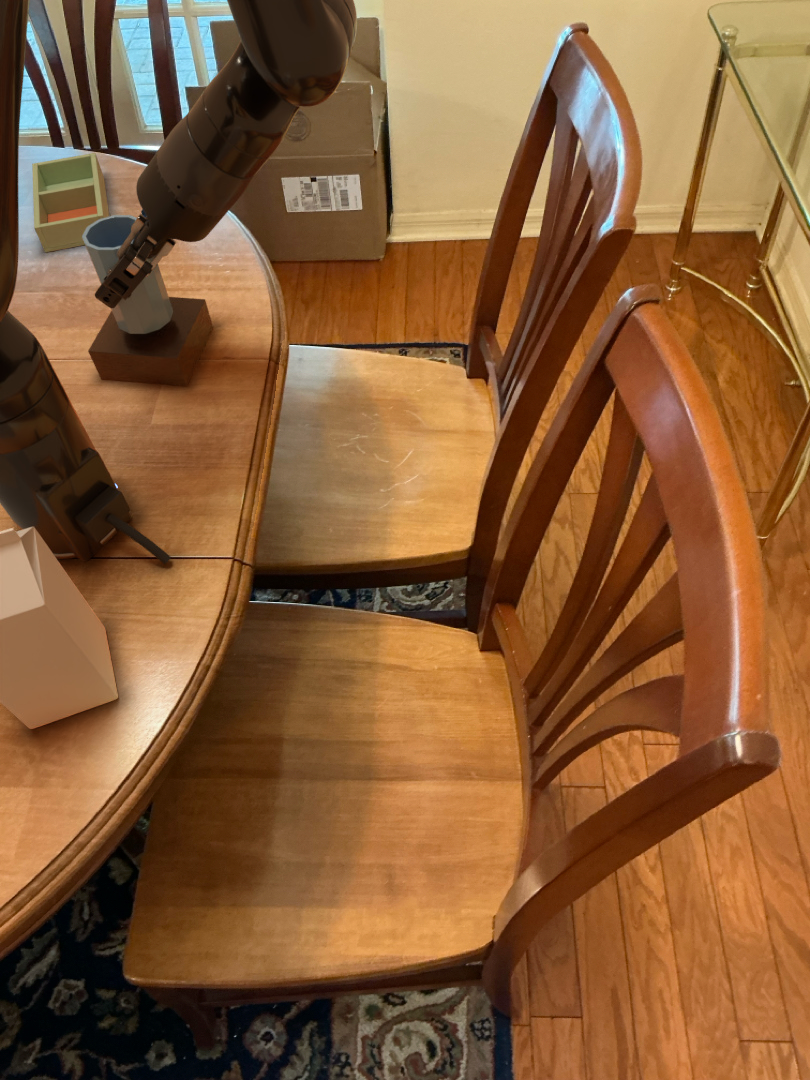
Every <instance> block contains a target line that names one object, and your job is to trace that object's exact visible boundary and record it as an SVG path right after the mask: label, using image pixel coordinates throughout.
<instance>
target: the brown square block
mask: <svg viewBox="0 0 810 1080" xmlns="http://www.w3.org/2000/svg"><path fill="white" fill-rule="evenodd" d="M169 299H170V303H171V306H172V309H173V314H172V317H171V320H170V321H169V322H168V323H167V324H166V325H164V326H163V327H162V328H161V329H159V330H156V331H153V332H149V333H146V334H130V333H127V332H125V331H123V330H121V329H119V327H118V325H117V322H116V320H115V318H114V315H113V313H112V310H111V311H110V312H109V314H108V315H107V318H106V320H105V321H104V323H103V325H102V327H101V328H100V330H99V331H98V333H97V334H96V337H95V338H94V340H93V342H92V344H91V345H90V347H89V348H88V351H87V352H88V355H89V356H90V358H91V361H92V363H93V365H94V367H95V369H96V372H97V373H98V376H99V378H100V379H101V380H107V381H108V380H110V381H120V382H132V383H144V384H153V385H154V384H155V385H166V386H177V387H179V386H180V387H188V385H189V383H190V380H191V377H192V376H193V373H194V371H195V369H196V366H197V364H198V362H199V360H200V358H201V356H202V354H203V351H204V350H205V347H206V345H207V343H208V340H209V338H210V336H211V334H212V331H213V330H214V325H213V322H212V318H211V315H210V311H209V308H208V303H207V300H206V299H205V298H193V297H192V298H190V297H181V296H180V297H179V296H177V297H176V296H169Z"/></svg>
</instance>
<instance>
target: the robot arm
mask: <svg viewBox="0 0 810 1080" xmlns="http://www.w3.org/2000/svg"><path fill="white" fill-rule="evenodd" d="M226 1H227V4H228V8H229V10H230V13H231V16H232V19H233V22H234V24H235V27H236V31H237V33H238V36H239V38H240V41H239V42H238V44H237V47H236V48H235V50H234V51H233V53H232V55H231V56H230V58H229V60H228V61H227V62H226V63H225V65H224V66H223V67H222V68H221V69H220V70H219V72H218V73H217V74H216V75H215V76H214V77H213V78H212V79H211V81H210V82H209V83H208V84H207V86H206V87H205V89H204V90H202V93H201V94H200V95H199V97H198V98H197V100H196V102H195V103H194V104H193V106H192V107H191V109H190V110H189V111H188V112H187V114H185V116H184V117H183V118H182V119H181V120H179V122H178V123H177V124H176V125H175V126H174V127H173V128H172V129H171V130H170V132H169V134H168V135H167V137H166V138H165V139H164V140H163V142H162V143H161V145H160V147H159V148H158V149H157V151H156V152H155V154H154V156H153V157H152V158H151V159H150V161H149V162H148V163H147V165H146V166H145V168H144V169H143V170H142V172H141V174H140V175H139V177H138V178H137V181H136V186H135V187H136V191H135V192H136V197H137V200H138V203H139V205H140V207H141V210H140V214H139V215H137V217H136V218H137V219H136V220H135V222H134V223H133V225H132V227H131V233H130V234H129V235H128V237H127V238H126V240H125V241H124V242H123V244H122V245H121V247H120V248H119V250H118V252H117V256H118V258H119V260H118V261H117V262H116V264H115V265H114V267H113V268H112V269H111V268H110V269H109V271H108V273H109V274H108V275H107V276H105V278H104V279H103V280H104V282H103V283H102V284H101V283H100V286H99V287H98V288H97V290H95V293H94V297H95V298H96V300H98V301H99V302H100V303H102V304H104V305H105V306H106V307H108V308H109V309H111V308H115V307H116V305H117V304H118V303H119V302H120V300H121V299H122V298H123V299H124V300H126V299H127V298H130V296H131V295H132V294H131V293H132V292H133V291H134V290H135V289H136V287H137V286H138V285H139V284H140V283H141V281H142V280H143V279H144V278H145V277H147V276H149V275H150V273H151V272H152V271H153V269H154V268H155V267H156V265H157V264H158V265H159V263H160V262H161V260H162V259H163V257H167V256H168V255H169V254H170V253H171V251H172V250H173V248H174V247H175V246H176V244H177V241H182V242H185V243H196V242H197V243H198V242H201V241H203V240H204V239H206V237H208V235H209V234H210V233H211V232H212V231H213V230H214V229H215V227H216V226H217V225H218V224H219V223H220V222H221V220H222V219H223V218H224V217H225V216H226V215H227V213H228V212H229V211H230V210H231V208H233V206H234V205H235V204H236V203H237V202H238V200H239V199H240V198H241V197H242V195H244V194H245V192H246V190H247V188H248V187H249V185H250V183H251V182H252V180H253V178H254V177H255V176H256V175H257V173H258V172H259V171H260V170H261V169H262V167H263V166H264V165H265V164H266V163H267V161H268V160H270V158H271V157H272V156H273V154H274V153H275V152H276V151H277V150H278V148H279V147H280V145H281V144H282V143H283V141H284V139H285V138H286V136H287V134H288V132H289V129H290V127H291V125H292V122H293V120H294V118H295V116H296V115H297V113H298V112H299V110H300V109H301V108H310V107H311V108H312V107H315V106H319V105H321V104H323V103H324V102H326V101H327V100H329V99H330V98H331V97H332V96H333V95H334V94H335V92H336V91H337V89H338V88H339V86H340V84H341V82H342V80H343V78H344V76H345V72H346V69H347V67H348V63H349V61H350V57H351V54H352V51H353V48H354V45H355V40H356V36H357V30H358V16H357V15H358V14H357V8H356V3H355V1H354V0H226ZM30 2H31V0H0V505H1V507H2V508H3V509H4V511H5V513H6V514H7V515H8V516H9V517H10V519H11V520H12V522H13V523H14V525H16V527H17V528H18V529H19V531H20V530H23V529H27V528H30V527H34V528H35V529H36V530H37V532H38V533H39V535H40V536H41V537H42V539H43V540H44V542H45V543H46V545H47V546H48V547H49V549H50V550H51V552H52V553H53V554H54V556H55V557H56V559H57V560H71V559H79V560H80V561H82V562H88V561H89V560H90V559H91V558H93V556H95V554H96V553H98V552H99V550H101V549H102V548H103V547H104V546H105V545H106V544H108V542H110V540H112V539H113V537H115V535H116V534H117V533H118V532H119V531H120V532H121V533H123V534H124V535H126V536H127V537H128V538H130V539H132V540H133V541H134V542H136V543H137V544H139V546H141V547H143V548H144V549H145V550H147V552H149V553H150V554H151V555H153V557H155V558H156V559H157V560H159V561H160V562H161V563H162V564H164V565H166V564H167V563H168V562H169V561H170V560H171V559H172V556H171V555H169V554H168V553H167V552H166V551H164V549H162V548H161V547H160V546H159V545H157V544H156V543H155V542H153V540H151V539H150V538H148V537H147V536H146V535H145V534H143V533H142V532H140V531H139V530H137V529H136V528H135V527H133V526H132V525H130V524H129V522H130V521H131V520H132V519H133V516H132V513H131V511H132V510H131V508H130V506H129V504H128V502H127V500H126V498H125V496H124V494H123V493H122V491H120V490H119V488H118V485H117V484H116V483H115V481H114V479H113V476H111V474H110V472H109V469H108V467H107V466H106V464H105V462H104V460H103V458H102V457H101V455H100V453H99V452H98V451H97V449H96V447H95V446H94V443H93V441H92V439H91V438H90V435H89V434H88V432H87V430H86V428H85V426H84V424H83V422H82V420H81V419H80V417H79V415H78V413H77V411H76V409H75V406H74V405H73V403H72V402H71V400H70V397H69V396H68V394H67V392H66V389H65V388H64V386H63V384H62V382H61V380H60V378H59V376H58V374H57V372H56V371H55V368H54V367H53V365H52V363H51V361H50V359H49V357H48V354H47V353H46V351H45V349H44V348H43V346H42V344H41V342H40V341H39V340H38V338H37V337H36V335H35V334H34V333H33V332H32V331H30V329H29V328H27V326H26V325H24V324H23V323H22V322H21V321H20V320H19V319H17V318H16V316H14V315H13V314H12V313H11V311H9V308H10V306H11V303H12V300H13V297H14V294H15V290H16V284H17V278H18V270H19V254H20V253H19V250H20V248H19V244H20V240H19V239H20V238H19V237H20V235H19V234H20V232H19V231H20V230H19V229H20V226H19V225H20V223H19V221H20V220H19V217H20V216H19V214H20V212H19V207H20V205H19V159H20V157H19V156H20V155H19V154H20V153H19V151H20V149H19V148H20V122H21V110H22V109H21V108H22V98H23V97H22V95H23V86H24V75H25V64H26V63H25V62H26V49H27V35H28V33H27V32H28V23H29V14H30V13H29V12H30ZM134 238H135V239H134ZM133 239H134V240H133ZM132 241H133V242H132ZM131 242H132V247H133V249H134V250H135V251H136V252H137V253H136V252H135V251H133V250H132V249H131V248H129V249H128V246H129V245H130V244H131ZM154 256H155V257H154ZM153 257H154V258H153ZM151 258H153V259H152V261H151V262H150V263H149V262H148V261H146V259H151Z"/></svg>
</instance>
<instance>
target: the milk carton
mask: <svg viewBox="0 0 810 1080" xmlns="http://www.w3.org/2000/svg"><path fill="white" fill-rule="evenodd" d="M118 698H119V693H118V689H117V683H116V678H115V672H114V667H113V662H112V657H111V652H110V646H109V641H108V636H107V631H106V628H105V626H104V624H103V622H102V621H101V620H100V618H99V617H98V615H97V614H96V613H95V612H94V610H93V608H92V607H91V606H90V604H89V603H88V602H87V600H86V599H85V597H84V596H83V594H82V593H81V592H80V590H79V588H78V587H77V586H76V585H75V583H74V581H73V580H72V578H71V577H70V575H69V574H68V573H67V571H66V570H65V569H64V567H63V566H62V564H61V563H60V562H59V559H56V557H55V556H54V554H53V553H52V552H51V550H50V549H49V547H48V546H47V545H46V543H45V542H44V540H43V539H42V537H41V536H40V535H39V533H38V532H37V530H36V529H35V528H34V527H30V528H27V529H23V530H20V529H19V530H17V531H16V529H15V528H13V527H10V528H6V529H3V530H0V704H1V705H2V706H3V707H5V708H6V709H7V711H9V712H10V713H11V714H12V715H14V716H15V717H16V718H17V719H18V720H19V721H20V722H21V723H22V724H23V725H25V727H26V728H28V729H30V730H33V729H36V728H39V727H40V728H41V727H42V726H45V725H48V724H51V723H53V722H56V721H59V720H62V719H65V718H68V717H71V716H73V715H76V714H80V713H82V712H85V711H88V710H90V709H93V708H97V707H99V706H101V705H105V704H107V703H111V702H113V701H115V700H117V699H118Z"/></svg>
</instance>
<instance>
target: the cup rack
mask: <svg viewBox="0 0 810 1080" xmlns="http://www.w3.org/2000/svg"><path fill="white" fill-rule="evenodd" d="M31 165H32V166H31V167H32V168H31V169H32V197H33V198H32V199H33V200H32V201H33V228H34V231H35V233H36V235H37V238H38V239H39V242H40V244H41V246H42V248H43V250H44V252H45V253H50V252H55V251H60V250H66V249H71V248H76V247H81V246H85V243H84V241H83V238H82V235H83V233H84V232H85V230H86V228H87V227H88V226H89V225H91V224H92V223H94V222H96V221H97V220H99V219H102V218H106V217H109V216H110V213H109V205H108V198H107V190H106V183H105V177H104V173H103V170H102V167H101V165H100V162H99V160H98V157H97V154H96V152H91V153H86V154H80V155H75V156H69V157H68V156H67V157H62V158H56V159H51V160H45V161H40V162H34V163H32V164H31Z"/></svg>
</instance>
